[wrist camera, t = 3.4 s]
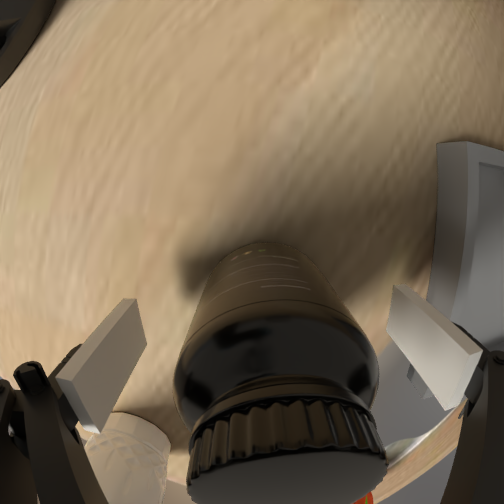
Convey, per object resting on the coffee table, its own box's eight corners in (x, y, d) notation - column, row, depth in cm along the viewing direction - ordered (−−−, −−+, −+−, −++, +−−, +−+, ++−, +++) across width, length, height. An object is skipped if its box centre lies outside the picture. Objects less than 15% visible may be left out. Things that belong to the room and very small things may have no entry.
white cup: (97, 393, 18) (48, 482, 9) (185, 428, 19) (165, 530, 10) (97, 436, 20) (64, 508, 11) (169, 465, 21) (152, 543, 12)
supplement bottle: (333, 327, 17) (411, 496, 5) (229, 357, 17) (212, 537, 6) (307, 221, 15) (449, 354, 3) (187, 259, 15) (78, 433, 4)
